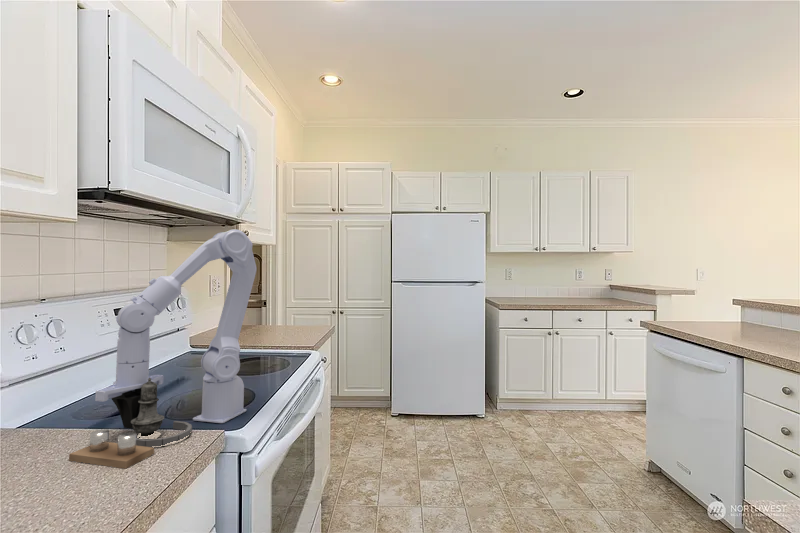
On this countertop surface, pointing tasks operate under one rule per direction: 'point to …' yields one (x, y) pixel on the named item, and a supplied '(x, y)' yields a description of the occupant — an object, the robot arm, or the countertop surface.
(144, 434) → the grey stone tall piece
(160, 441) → the segmented grey arc
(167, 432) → the countertop surface
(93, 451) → the pin board
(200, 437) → the countertop surface
